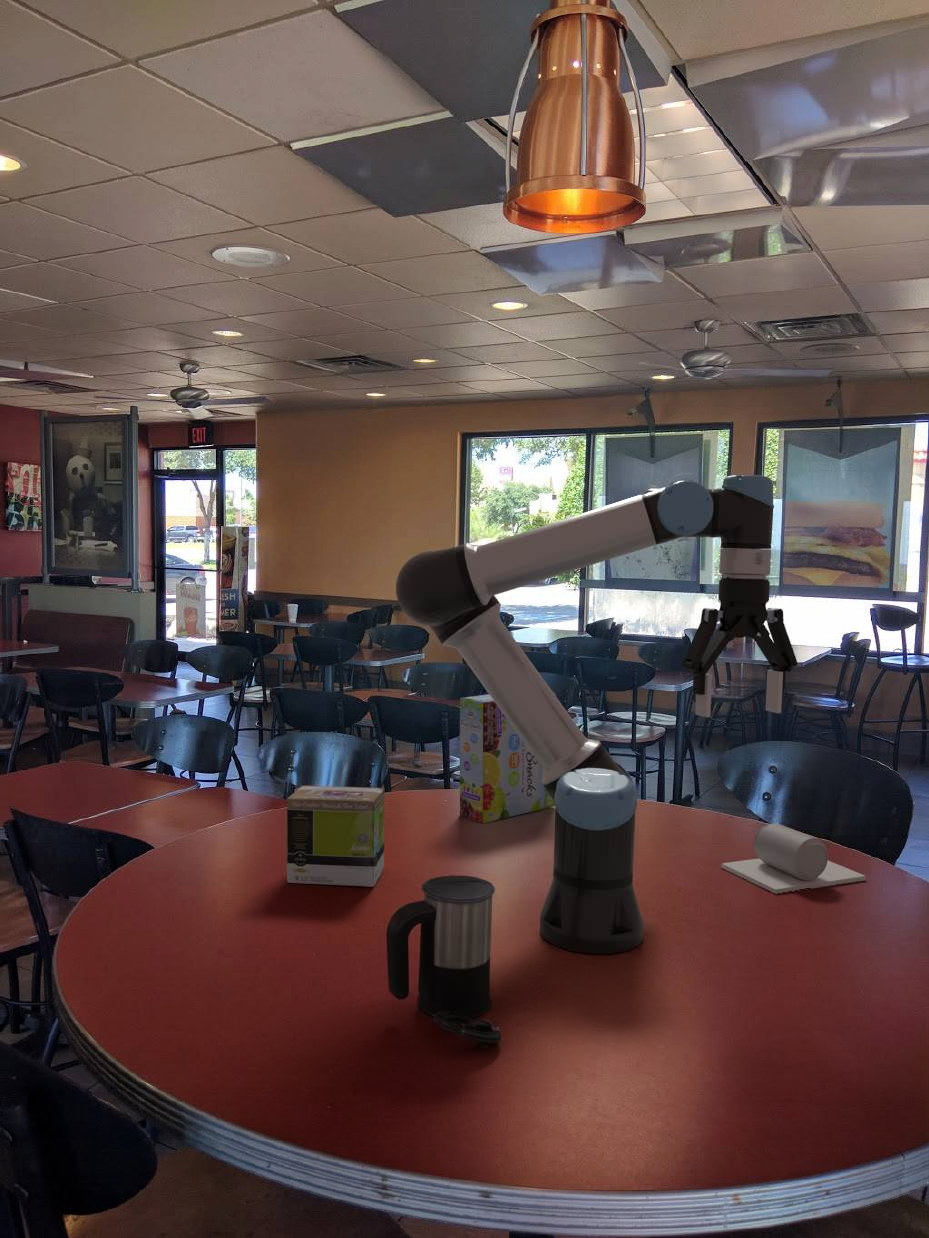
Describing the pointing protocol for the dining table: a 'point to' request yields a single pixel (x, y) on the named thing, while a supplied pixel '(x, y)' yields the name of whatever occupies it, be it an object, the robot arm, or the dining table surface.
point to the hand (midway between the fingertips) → (738, 714)
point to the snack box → (496, 765)
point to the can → (791, 851)
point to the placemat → (789, 876)
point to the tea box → (335, 835)
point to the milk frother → (448, 954)
